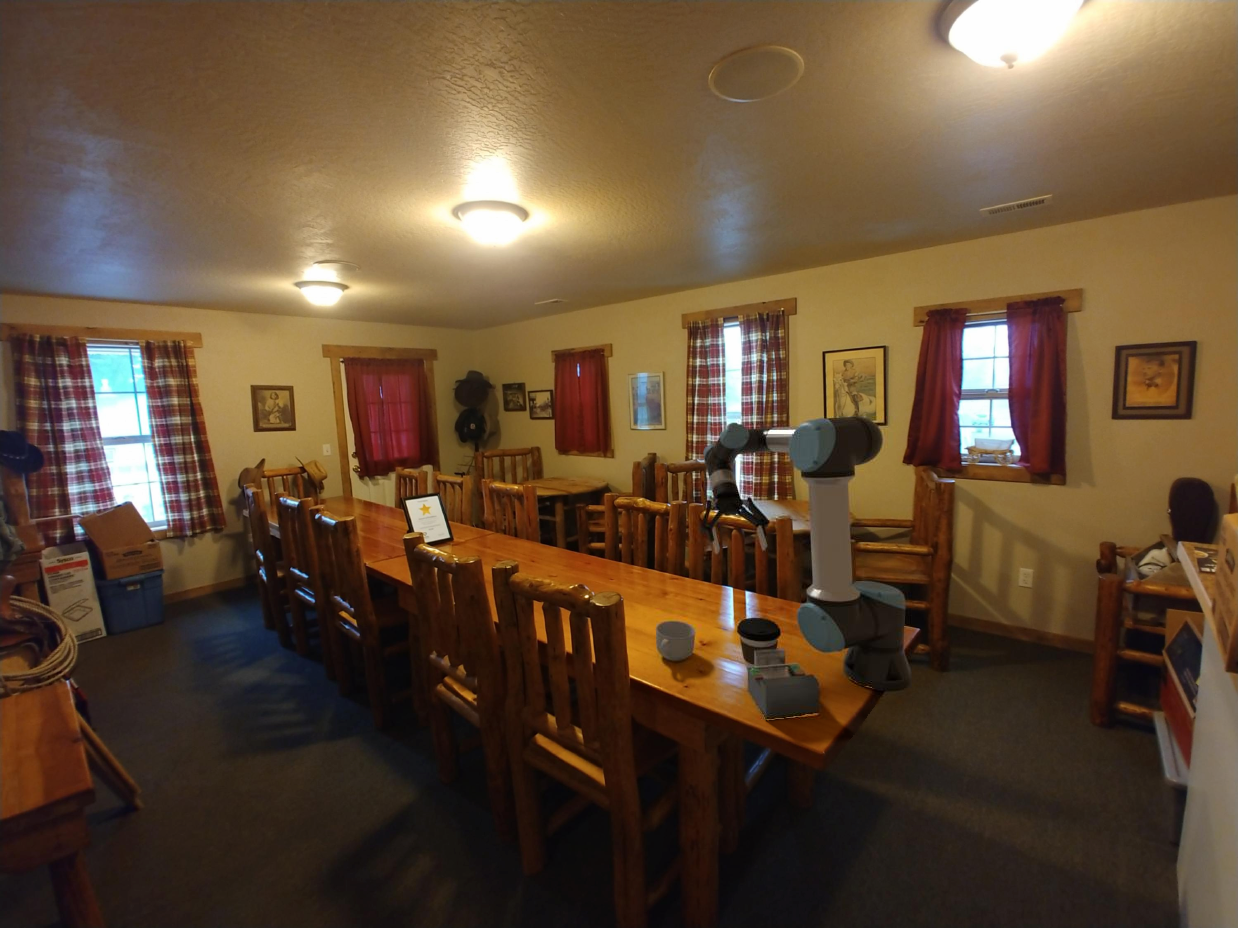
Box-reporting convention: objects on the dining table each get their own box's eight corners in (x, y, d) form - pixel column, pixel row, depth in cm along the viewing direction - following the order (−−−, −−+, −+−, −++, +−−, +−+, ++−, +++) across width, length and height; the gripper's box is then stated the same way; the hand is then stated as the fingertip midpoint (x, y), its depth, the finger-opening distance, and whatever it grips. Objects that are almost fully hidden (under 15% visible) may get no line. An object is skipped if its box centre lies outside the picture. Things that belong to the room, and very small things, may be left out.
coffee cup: (786, 680, 127) (786, 634, 125) (742, 681, 127) (741, 636, 126) (774, 658, 138) (774, 615, 136) (733, 659, 138) (732, 617, 136)
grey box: (747, 691, 123) (747, 660, 122) (795, 686, 124) (795, 655, 123) (765, 721, 112) (765, 686, 111) (818, 715, 113) (818, 681, 112)
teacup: (670, 642, 149) (669, 616, 148) (703, 653, 142) (702, 625, 141) (641, 662, 138) (640, 634, 137) (675, 675, 131) (674, 645, 130)
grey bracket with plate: (747, 681, 125) (746, 650, 124) (790, 677, 126) (790, 647, 125) (756, 696, 119) (755, 664, 118) (801, 692, 120) (802, 659, 118)
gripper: (761, 492, 160) (780, 552, 147) (682, 497, 158) (695, 559, 145) (767, 478, 154) (788, 540, 141) (686, 483, 152) (699, 546, 139)
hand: (741, 549), depth 143 cm, fingers open, 13 cm apart
